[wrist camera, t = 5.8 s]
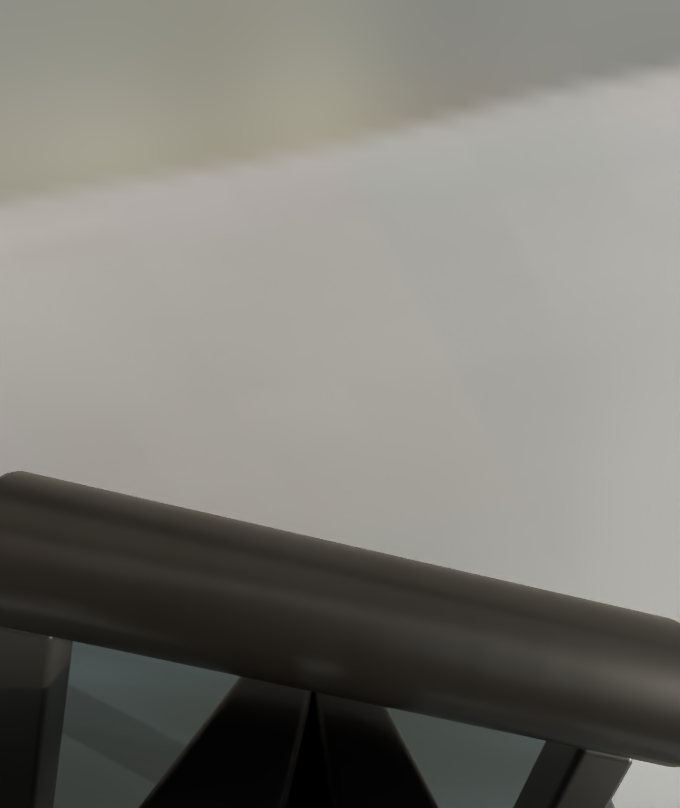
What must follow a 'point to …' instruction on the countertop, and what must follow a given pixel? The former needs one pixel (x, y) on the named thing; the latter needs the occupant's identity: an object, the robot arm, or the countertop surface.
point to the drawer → (303, 655)
